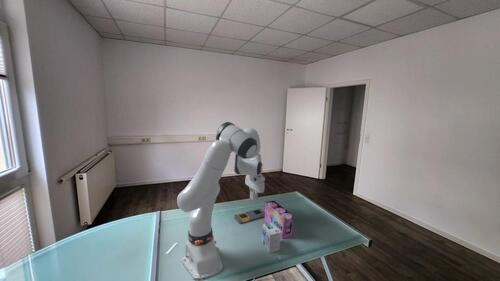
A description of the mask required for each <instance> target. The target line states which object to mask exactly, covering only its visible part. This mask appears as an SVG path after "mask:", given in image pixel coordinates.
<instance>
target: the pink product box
mask: <svg viewBox="0 0 500 281" xmlns="http://www.w3.org/2000/svg"><path fill="white" fill-rule="evenodd" d="M264 212H265V217H264V221H265V222H266V224H268V223H273V224H274V225H275V226H276V227H277V229H278V230H279V231H280V232H281V237H280V239H281V238H282V239H286V238H289V237H293V235H294V234H293V232H294V214H293V213H292V212H290V211H289V210H287V209H286V208H285V207H283V206H282V205H281V204H279V203H278V202H277V201H275V200H271V201H270V200H269V201H265V203H264Z"/></svg>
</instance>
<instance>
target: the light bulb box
mask: <svg viewBox="0 0 500 281" xmlns="http://www.w3.org/2000/svg"><path fill="white" fill-rule="evenodd" d="M261 227H262V231H261V242H262V244H263V246H264V247H265V248H266V250H267V252H268V253H269V254H271V253H273V252H274V253H275V252H278V251H281V232H280V231H279V230H278V229H277V227H276V226H275V225H274V224H273V223H262V226H261Z"/></svg>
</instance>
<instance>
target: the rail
mask: <svg viewBox="0 0 500 281" xmlns="http://www.w3.org/2000/svg"><path fill="white" fill-rule="evenodd" d="M262 218H265V210H263V209H262V208H257V209H253V210H249V211H245V212H242V213H237V214H234V215H233V219H234V220H235V221H236V223H238V225H241V224H244V223H247V222H251V221H255V220H258V219H262Z"/></svg>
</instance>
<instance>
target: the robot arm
mask: <svg viewBox="0 0 500 281" xmlns="http://www.w3.org/2000/svg"><path fill="white" fill-rule="evenodd" d="M232 152H233V153H234V154H235V156H234V165H233V170H234V173H235V174H236V175H243V176H244V175H245V178H244V179H245V182H244V183H245V184H244V185H246V186H247V187H249V191H250V190H255V193H254V195H255V196H257V194H263V193H264V192H265V188H266V186H265V184H266V183H265V181H266V178H265V177H264V175H263V174H262V172H263V165H264V164H263V163H262V155H261V154H260V152H261V140H260V136H259V133H258V131H257V130H256V129H254V128H253V127H246V128H244V129H242V128H241V127H239V126H237V125H236V124H234V123H233V122H231V121H225V122H224V123H221V124H220V125H219V127H218V129H217V131H216V136H215V140H214V141H212V143H211V145H210V146H209V147H208V149H207V151H206V153H205V154H204V156H203V159H202V161H201V164H200V166H199V168H198V170H197V171H196V173H195V174H194V176H193V177H192V178H191V179H190V181H189V183H188V184H187V185H186V187H185V188H184V189H182V191H180V192H179V194H178V195H177V197H176V204H177V206H178V208H179V210H180V211H182V212H184V213H190V214H189V216H188V231H187V232H188V233H187V239H188V240H187V241H186V242H185V246H184V256H183V257H182V258H181V263H182V264H183V266H184V268H185V269H186V270H187V272H188V274H191V275H190V276H191V278H192V279H193V278H194V279H200V280H204V279H203V278H205V279H207V278H210V277H213V276H215V275H217V274H218V273H219V272H221V271H222V270H223V263H222V259H221V256H220V247H219V246H216V244H217V241H216V240H215V238H214V237H215V236H214V234H213V228H212V221H213V220H212V217H213V216H212V215H213V211H214V207H215V203H216V200H217V197H218V195H219V193H220V190H221V186H220V183H219V181H220V179H221V177H222V176H223V174H224V172H225V169H226V167H227V165H228V163H229V160H230V157H231V154H232ZM194 279H193V280H194Z"/></svg>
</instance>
